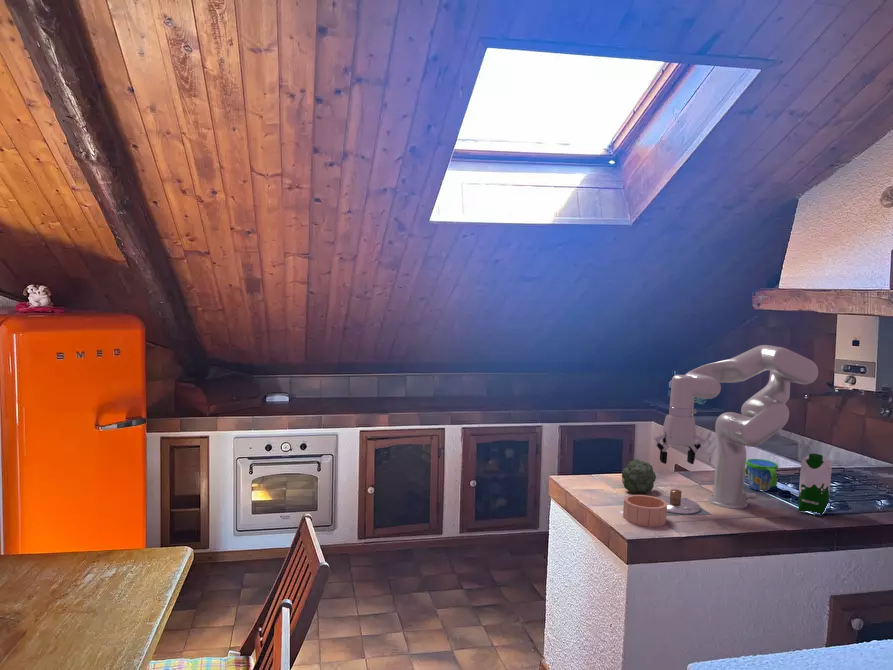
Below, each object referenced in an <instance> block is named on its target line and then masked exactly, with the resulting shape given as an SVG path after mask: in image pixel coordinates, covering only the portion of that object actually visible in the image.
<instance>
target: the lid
mask: <svg viewBox="0 0 893 670" xmlns="http://www.w3.org/2000/svg"><path fill="white" fill-rule="evenodd" d="M655 497H656V498H660V499H663V500H664V501H665V502H667V512H668V513H673V514H695V513H698V512H700V507H701V505H700V504H699V503H697V502H695V501H693V500H690V499H689V498H687V499H684V498H685V497H682V490H681V489H676V488H672V489H670V494H669V496H668V495H666V496H655ZM688 499H689V500H688Z"/></svg>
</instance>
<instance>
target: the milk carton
mask: <svg viewBox="0 0 893 670" xmlns="http://www.w3.org/2000/svg"><path fill="white" fill-rule="evenodd" d="M832 462H833V460H831V459H828V458H827V459H825V458H824V455H822V454H818V453H809V454H808V455H807V456H805V457H804V458H803V459H801V464H800V473H799V483H798V484H799V485H798V487H799V488H798V497H797V499H798V500H797V501H798V505H797V506H798V512H799V511H812V512H817V513H820V514H822V513H823V512H824V510H825V508H826V506H827V504H828V505H829V501H830V492H831V491H830V490H831V482H832V481H831V480H832V479H831V478H832V472H833V471H832V464H833V463H832ZM827 507H828V506H827Z"/></svg>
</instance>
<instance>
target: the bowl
mask: <svg viewBox="0 0 893 670" xmlns="http://www.w3.org/2000/svg"><path fill="white" fill-rule="evenodd" d="M656 497H657V496H653V495H652V496H651V495H646V494H645V495H644V494H631V495H627V496H625V497H624V499H623V509H622V510H623V511H622V512H623V513H622V518H623V519H624V520H625V521H627V522H628V523H631V524H633V525H638V526H643V527H661V526H664V525H666V523H667V518H668V516H667V502H665V501H664V500H663V499H660V498H656Z"/></svg>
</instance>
